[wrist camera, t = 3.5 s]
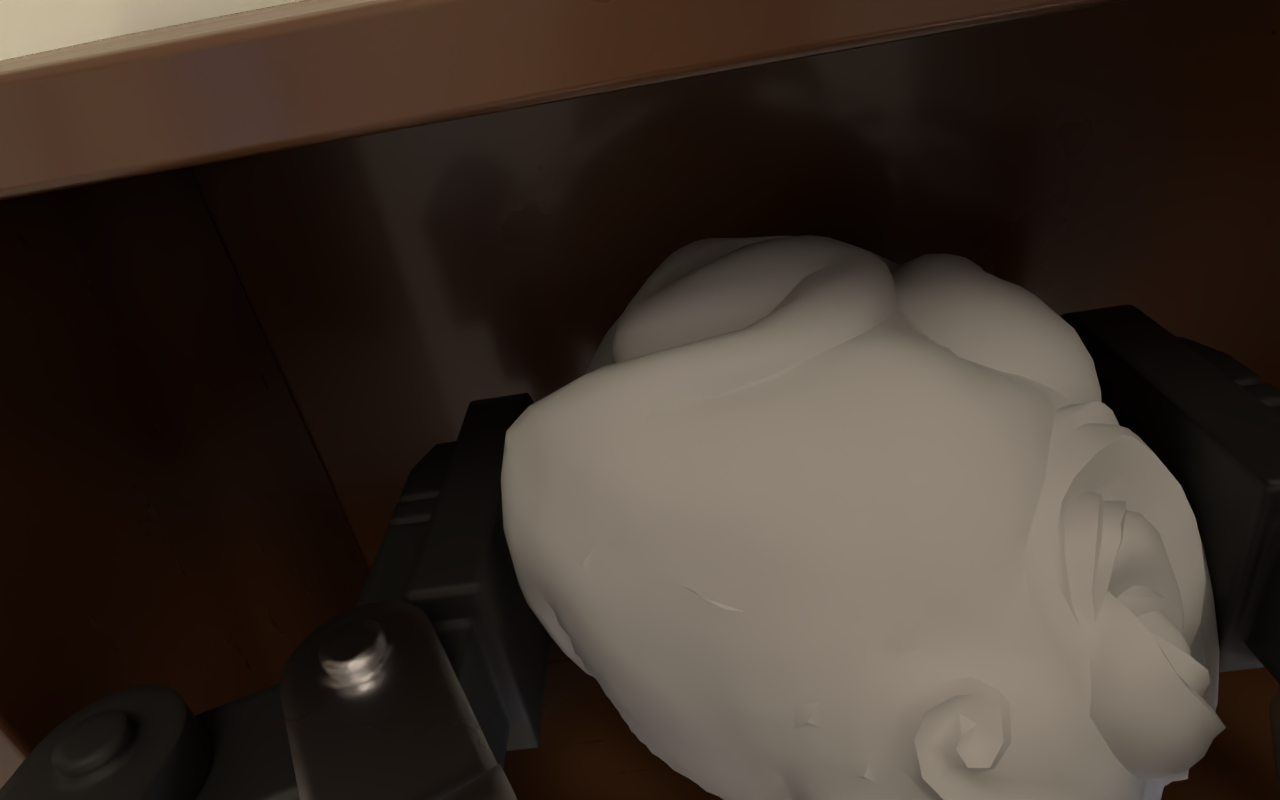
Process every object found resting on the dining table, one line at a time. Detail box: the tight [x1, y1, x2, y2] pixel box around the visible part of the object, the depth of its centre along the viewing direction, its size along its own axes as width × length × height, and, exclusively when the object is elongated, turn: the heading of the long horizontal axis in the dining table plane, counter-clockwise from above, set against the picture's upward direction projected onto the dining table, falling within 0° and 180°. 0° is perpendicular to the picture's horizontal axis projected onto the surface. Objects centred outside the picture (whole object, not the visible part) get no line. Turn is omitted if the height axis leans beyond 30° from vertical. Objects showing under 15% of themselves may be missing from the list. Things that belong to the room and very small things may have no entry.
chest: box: [0, 0, 1280, 800], centre depth 9 cm, size 17×11×7 cm, turn 99°
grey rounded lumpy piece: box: [501, 235, 1226, 800], centre depth 9 cm, size 6×7×7 cm
